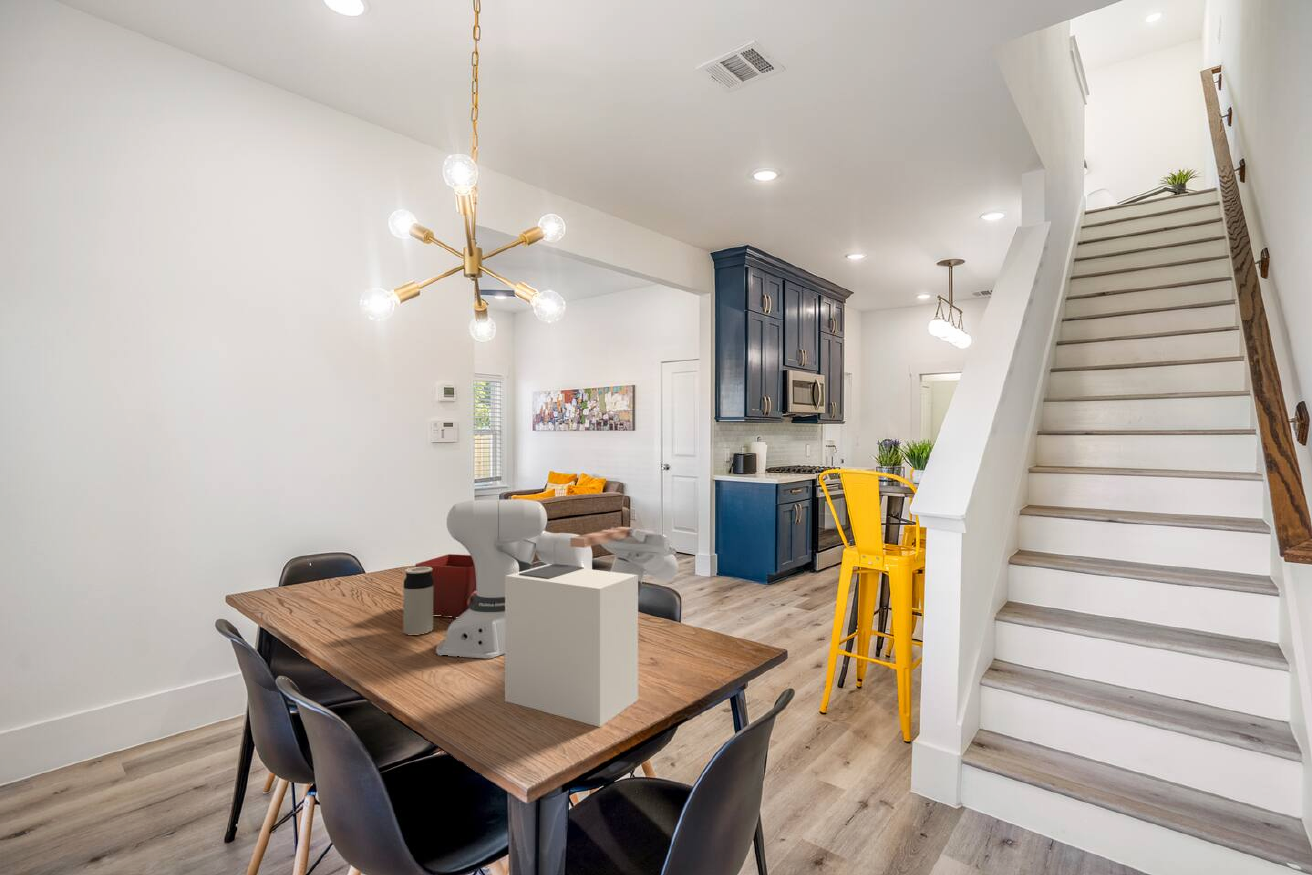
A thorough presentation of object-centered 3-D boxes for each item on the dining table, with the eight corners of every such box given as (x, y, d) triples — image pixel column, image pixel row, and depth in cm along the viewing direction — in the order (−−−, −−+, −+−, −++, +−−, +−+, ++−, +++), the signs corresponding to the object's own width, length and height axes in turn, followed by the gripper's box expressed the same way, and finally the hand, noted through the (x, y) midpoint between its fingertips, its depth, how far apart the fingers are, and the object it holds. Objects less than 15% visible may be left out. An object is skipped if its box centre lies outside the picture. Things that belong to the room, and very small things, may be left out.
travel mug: (438, 628, 174) (438, 566, 175) (424, 636, 166) (425, 572, 167) (412, 627, 175) (412, 566, 175) (397, 635, 167) (398, 571, 167)
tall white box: (548, 678, 136) (548, 562, 137) (638, 699, 125) (637, 573, 125) (505, 700, 124) (505, 574, 125) (600, 726, 112) (599, 587, 113)
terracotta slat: (621, 534, 157) (621, 526, 157) (634, 535, 155) (634, 527, 155) (570, 546, 137) (570, 537, 137) (584, 547, 135) (584, 538, 135)
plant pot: (499, 606, 198) (499, 555, 198) (469, 623, 179) (469, 567, 180) (448, 603, 202) (448, 553, 203) (413, 619, 184) (413, 564, 184)
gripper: (676, 565, 157) (653, 545, 146) (611, 558, 167) (586, 539, 156) (681, 542, 159) (659, 521, 149) (617, 537, 169) (593, 517, 159)
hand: (621, 530), depth 153 cm, fingers closed on terracotta slat, 4 cm apart
